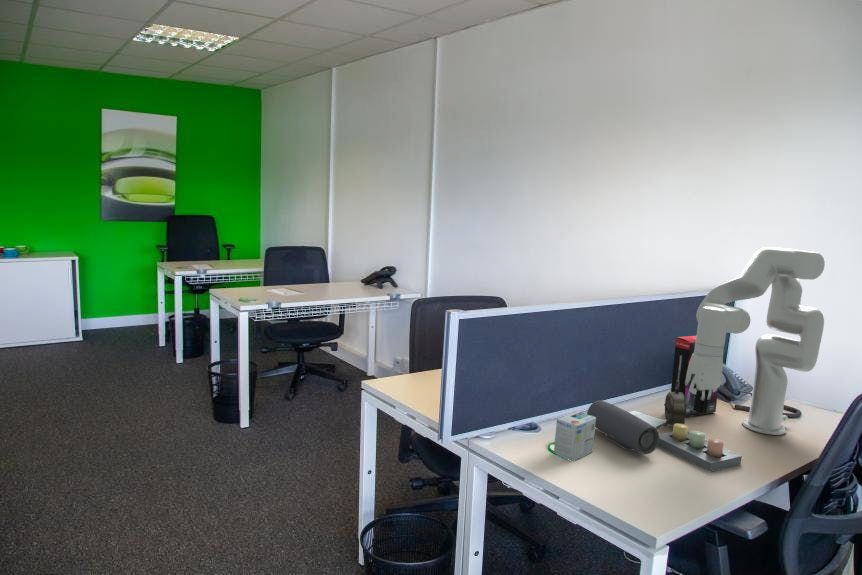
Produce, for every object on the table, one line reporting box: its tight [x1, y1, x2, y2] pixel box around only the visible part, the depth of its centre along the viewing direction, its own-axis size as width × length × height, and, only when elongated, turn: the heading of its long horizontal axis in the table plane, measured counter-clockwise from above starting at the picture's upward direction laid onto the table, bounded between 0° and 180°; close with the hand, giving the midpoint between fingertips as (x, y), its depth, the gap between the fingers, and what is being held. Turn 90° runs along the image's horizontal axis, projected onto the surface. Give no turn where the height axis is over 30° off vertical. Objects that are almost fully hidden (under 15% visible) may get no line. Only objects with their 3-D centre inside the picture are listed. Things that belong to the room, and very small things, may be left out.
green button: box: [689, 430, 706, 449], centre depth 175 cm, size 4×4×4 cm
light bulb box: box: [553, 410, 596, 462], centre depth 170 cm, size 11×7×11 cm, turn 134°
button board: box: [657, 431, 743, 472], centre depth 175 cm, size 13×20×2 cm, turn 28°
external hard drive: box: [628, 410, 667, 430], centre depth 200 cm, size 2×8×12 cm
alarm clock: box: [663, 380, 687, 427], centre depth 194 cm, size 11×5×16 cm, turn 169°
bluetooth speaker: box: [586, 399, 660, 455], centre depth 180 cm, size 23×9×10 cm, turn 23°
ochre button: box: [672, 423, 689, 441], centre depth 180 cm, size 4×4×4 cm
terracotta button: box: [706, 438, 725, 458], centre depth 170 cm, size 4×4×4 cm
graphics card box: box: [670, 335, 719, 418], centre depth 209 cm, size 17×7×27 cm, turn 117°
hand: (699, 411), depth 173 cm, fingers closed
